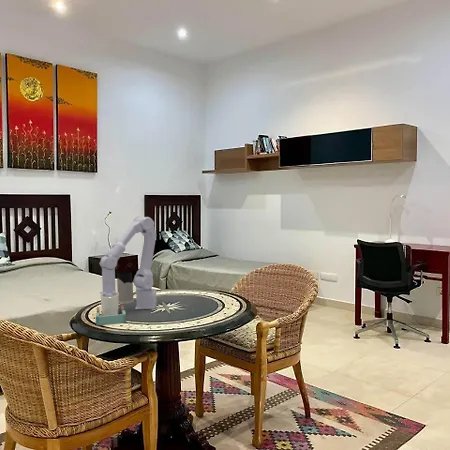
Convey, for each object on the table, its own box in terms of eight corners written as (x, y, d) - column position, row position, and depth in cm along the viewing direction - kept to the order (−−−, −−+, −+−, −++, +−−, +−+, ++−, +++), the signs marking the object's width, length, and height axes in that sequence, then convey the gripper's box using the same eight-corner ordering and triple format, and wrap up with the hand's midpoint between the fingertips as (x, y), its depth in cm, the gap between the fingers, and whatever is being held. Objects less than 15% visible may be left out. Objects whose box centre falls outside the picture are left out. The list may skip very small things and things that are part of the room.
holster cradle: (123, 311, 211) (123, 304, 211) (124, 315, 203) (124, 308, 203) (97, 313, 208) (96, 307, 208) (96, 317, 200) (96, 311, 200)
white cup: (101, 319, 198) (100, 298, 195) (101, 312, 205) (100, 291, 203) (119, 317, 199) (118, 296, 197) (119, 310, 207) (118, 290, 205)
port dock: (125, 317, 198) (125, 310, 198) (126, 322, 190) (125, 314, 190) (96, 320, 195) (95, 312, 195) (96, 325, 187) (95, 317, 187)
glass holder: (114, 301, 232) (113, 273, 231) (139, 297, 241) (138, 269, 240) (121, 304, 225) (120, 275, 224) (146, 300, 234) (145, 271, 233)
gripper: (100, 280, 211) (100, 308, 212) (99, 285, 197) (100, 315, 198) (115, 279, 213) (116, 307, 214) (116, 284, 199) (116, 314, 200)
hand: (109, 311), depth 206 cm, fingers closed, pressing on white cup
